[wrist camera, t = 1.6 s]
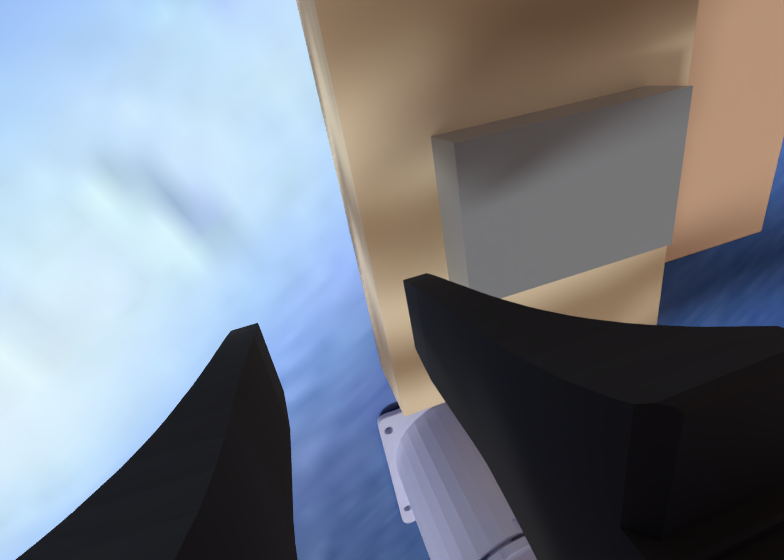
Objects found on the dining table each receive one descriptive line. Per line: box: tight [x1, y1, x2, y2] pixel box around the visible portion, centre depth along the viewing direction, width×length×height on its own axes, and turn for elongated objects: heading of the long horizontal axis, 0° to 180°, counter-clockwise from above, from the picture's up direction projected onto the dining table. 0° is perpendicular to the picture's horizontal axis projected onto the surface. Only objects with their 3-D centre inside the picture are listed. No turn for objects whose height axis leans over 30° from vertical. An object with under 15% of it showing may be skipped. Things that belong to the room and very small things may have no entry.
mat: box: [665, 0, 784, 262], centre depth 23 cm, size 16×11×1 cm
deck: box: [296, 0, 699, 417], centre depth 19 cm, size 18×14×4 cm
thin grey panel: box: [431, 86, 693, 299], centre depth 16 cm, size 6×9×2 cm, turn 100°
